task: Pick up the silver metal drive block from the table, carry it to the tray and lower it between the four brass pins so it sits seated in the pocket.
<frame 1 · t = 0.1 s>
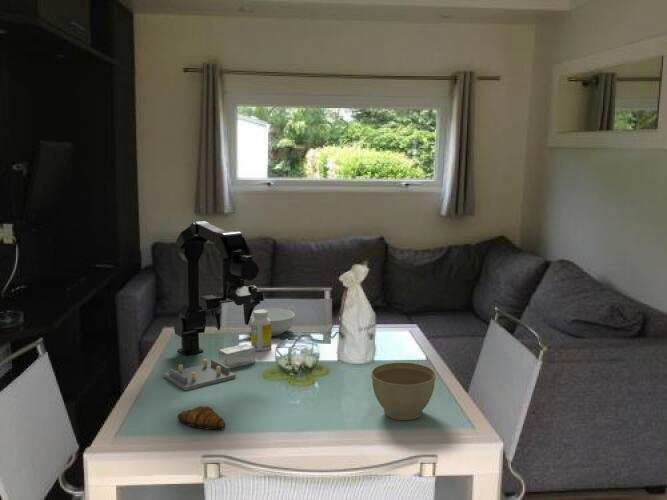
hand: (232, 327, 192), 14 cm above the table, tool pointing down, fingers open, 9 cm apart
tray: (199, 377, 192), on the table
cereal bowl: (271, 333, 238), on the table
drive: (237, 364, 204), on the table
supplement bottle: (261, 349, 219), on the table
croissant: (201, 426, 160), on the table
planter bowl: (402, 414, 166), on the table
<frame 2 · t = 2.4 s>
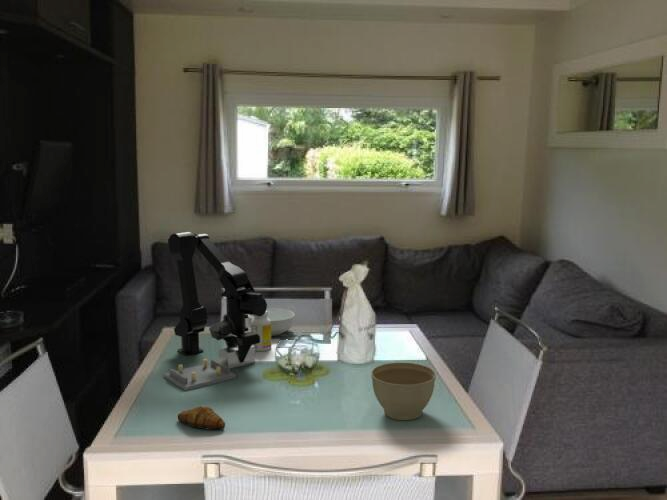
hand: (237, 360, 204), 1 cm above the table, tool pointing down, fingers closed on drive, 5 cm apart
drive: (237, 363, 204), on the table, touching gripper
everything else where it was.
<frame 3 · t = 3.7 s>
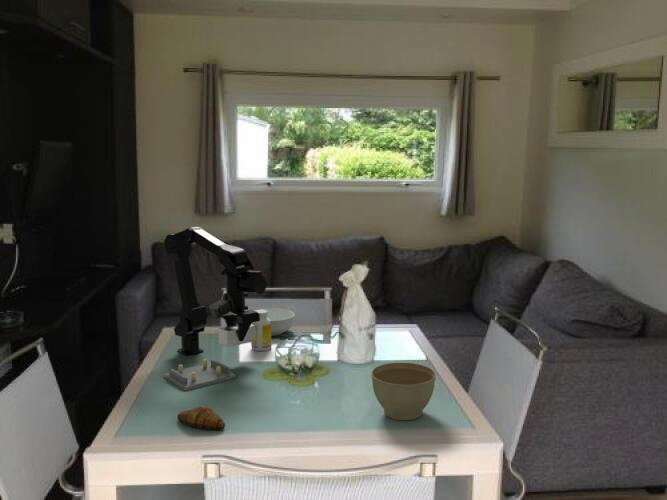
hand: (236, 339, 203), 8 cm above the table, tool pointing down, fingers closed on drive, 5 cm apart
drive: (237, 342, 203), point 7 cm above the table, touching gripper
everything else where it was.
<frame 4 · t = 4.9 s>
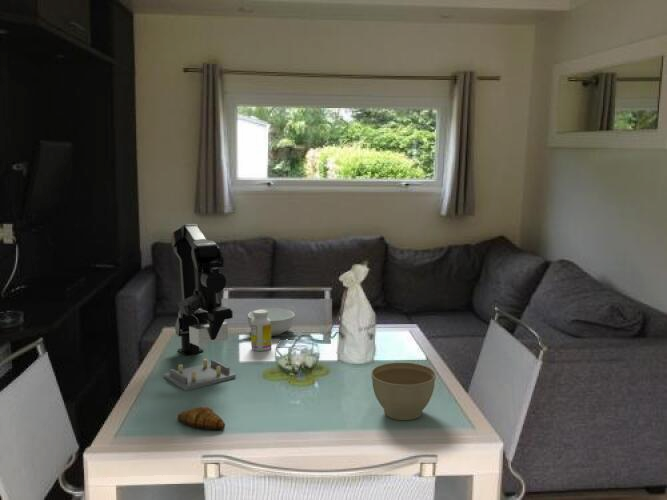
hand: (208, 337, 193), 11 cm above the table, tool pointing down, fingers closed on drive, 5 cm apart
drive: (209, 341, 193), point 10 cm above the table, touching gripper
everything else where it was.
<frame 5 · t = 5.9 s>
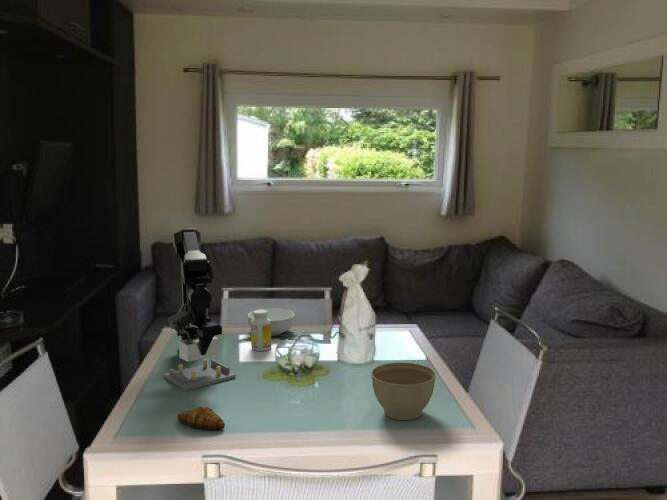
hand: (198, 352, 191), 7 cm above the table, tool pointing down, fingers closed on drive, 5 cm apart
drive: (199, 356, 191), point 6 cm above the table, touching gripper
everything else where it was.
when the fingers open (4 cm above the table, at t = 6.9 s): drive drops 2 cm, resting on tray.
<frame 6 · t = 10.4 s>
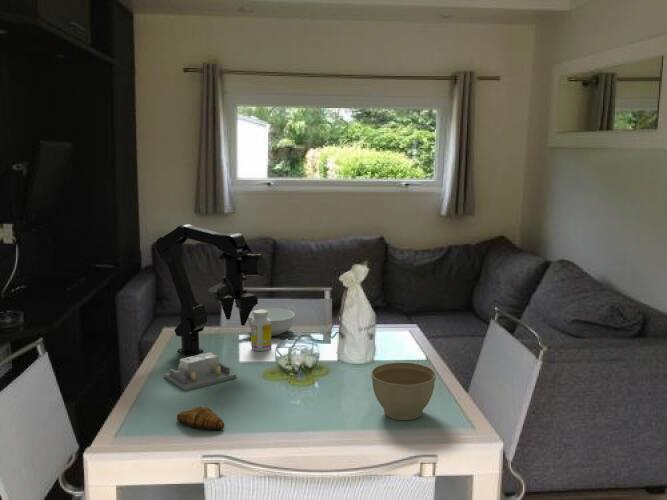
hand: (235, 322, 207), 12 cm above the table, tool pointing down, fingers open, 9 cm apart
drive: (199, 374, 192), point 1 cm above the table, touching tray
everything else where it was.
at the end: drive 0.1 cm off-centre on the tray, point 1.0 cm above the tray's base; drive tilted 0°; the gripper is holding nothing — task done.
